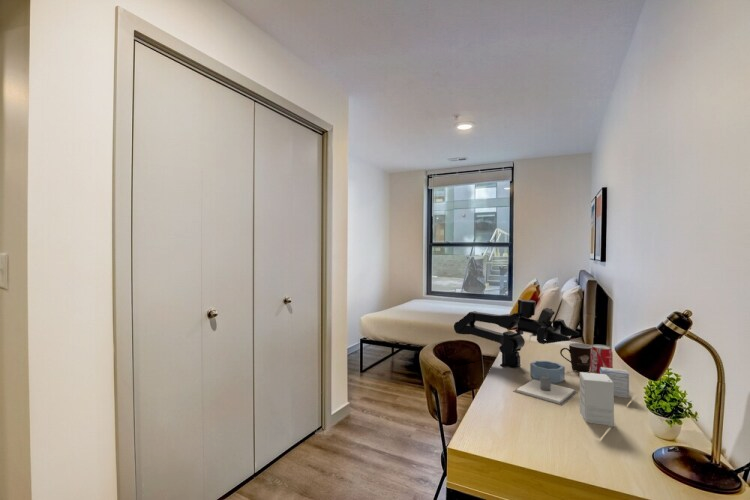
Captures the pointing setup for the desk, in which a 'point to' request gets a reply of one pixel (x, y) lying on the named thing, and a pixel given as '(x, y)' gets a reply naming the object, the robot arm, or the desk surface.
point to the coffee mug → (579, 356)
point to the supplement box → (597, 398)
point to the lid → (546, 390)
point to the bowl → (547, 370)
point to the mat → (551, 401)
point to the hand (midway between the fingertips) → (574, 336)
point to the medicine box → (618, 380)
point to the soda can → (600, 358)
